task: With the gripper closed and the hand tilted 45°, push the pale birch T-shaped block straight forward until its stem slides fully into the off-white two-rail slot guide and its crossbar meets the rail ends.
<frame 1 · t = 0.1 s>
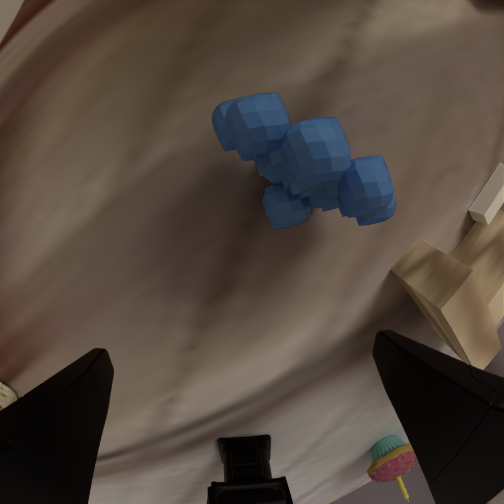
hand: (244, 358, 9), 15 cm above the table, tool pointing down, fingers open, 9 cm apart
cupcake: (383, 443, 36), on the table
slot guide: (496, 211, 24), on the table
grapes: (280, 170, 22), on the table
t block: (460, 261, 26), on the table
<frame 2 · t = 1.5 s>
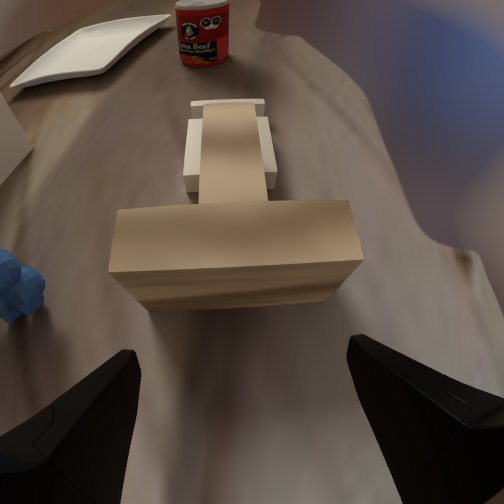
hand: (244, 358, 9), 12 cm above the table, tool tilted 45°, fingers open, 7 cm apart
square plate: (91, 56, 43), on the table
canned food: (204, 59, 39), on the table
slot guide: (229, 159, 29), on the table
grapes: (21, 320, 20), on the table
t block: (232, 228, 25), on the table
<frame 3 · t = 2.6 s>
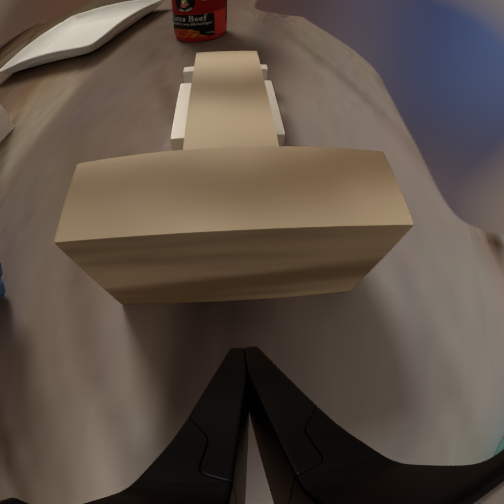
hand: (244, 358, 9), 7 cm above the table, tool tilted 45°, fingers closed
square plate: (83, 39, 38), on the table
canned food: (200, 35, 34), on the table
slot guide: (226, 126, 23), on the table
t block: (230, 201, 20), on the table
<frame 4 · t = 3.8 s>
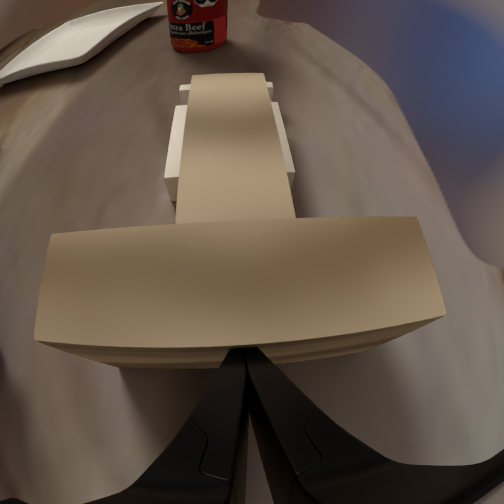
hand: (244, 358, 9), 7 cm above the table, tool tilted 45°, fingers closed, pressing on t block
square plate: (76, 48, 36), on the table
canned food: (199, 44, 33), on the table
slot guide: (228, 157, 22), on the table
t block: (233, 250, 18), on the table, touching gripper
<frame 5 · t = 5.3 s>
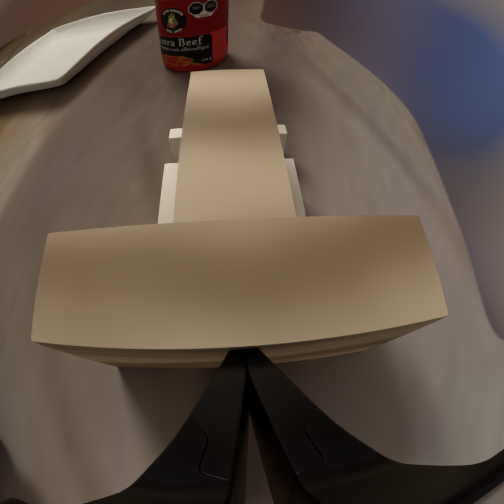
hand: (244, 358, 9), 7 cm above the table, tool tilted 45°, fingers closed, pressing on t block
square plate: (60, 60, 33), on the table
canned food: (195, 60, 29), on the table
slot guide: (232, 234, 18), on the table
t block: (232, 248, 18), on the table, touching gripper, slot guide
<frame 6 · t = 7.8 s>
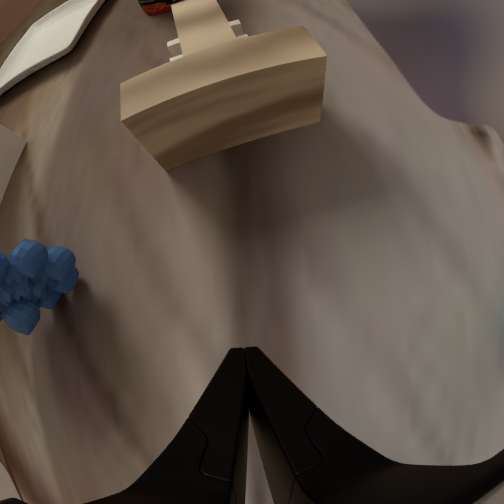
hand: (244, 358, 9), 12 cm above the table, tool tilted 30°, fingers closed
square plate: (54, 41, 36), on the table
canned food: (167, 3, 31), on the table
slot guide: (221, 83, 25), on the table
grapes: (63, 301, 23), on the table
t block: (223, 89, 25), on the table
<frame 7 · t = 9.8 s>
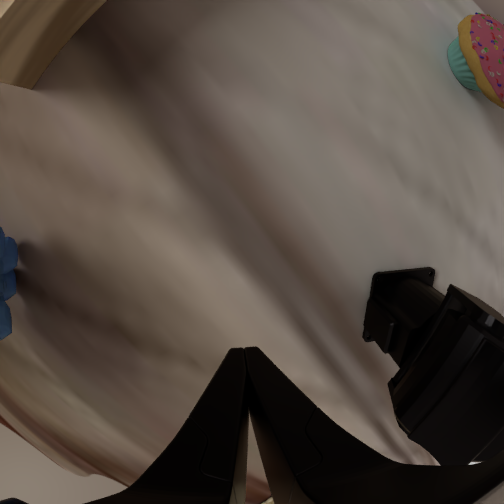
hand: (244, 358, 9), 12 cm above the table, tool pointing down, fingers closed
cupcake: (463, 67, 17), on the table
grapes: (20, 277, 19), on the table
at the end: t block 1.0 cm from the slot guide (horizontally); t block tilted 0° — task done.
